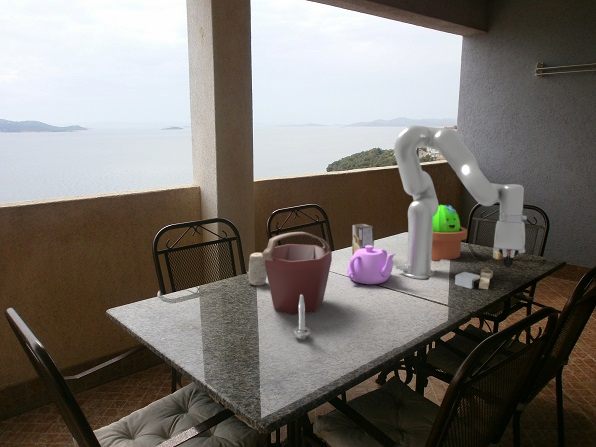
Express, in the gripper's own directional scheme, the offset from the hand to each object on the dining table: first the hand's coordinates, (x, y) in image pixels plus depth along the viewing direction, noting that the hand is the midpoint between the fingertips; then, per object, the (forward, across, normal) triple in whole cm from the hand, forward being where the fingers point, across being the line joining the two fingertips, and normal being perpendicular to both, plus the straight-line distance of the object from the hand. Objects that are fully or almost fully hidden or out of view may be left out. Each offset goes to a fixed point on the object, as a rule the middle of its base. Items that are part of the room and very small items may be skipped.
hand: (507, 266), depth 164 cm
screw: (+7, +51, +71) cm, 88 cm away
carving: (+5, +87, +37) cm, 94 cm away
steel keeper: (+8, +13, +6) cm, 17 cm away
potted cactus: (+7, +30, -33) cm, 45 cm away
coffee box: (+6, +61, -12) cm, 62 cm away
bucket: (+6, +64, +49) cm, 81 cm away
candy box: (+8, +2, -39) cm, 40 cm away
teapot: (+7, +48, +14) cm, 50 cm away
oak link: (+7, +8, 0) cm, 10 cm away
